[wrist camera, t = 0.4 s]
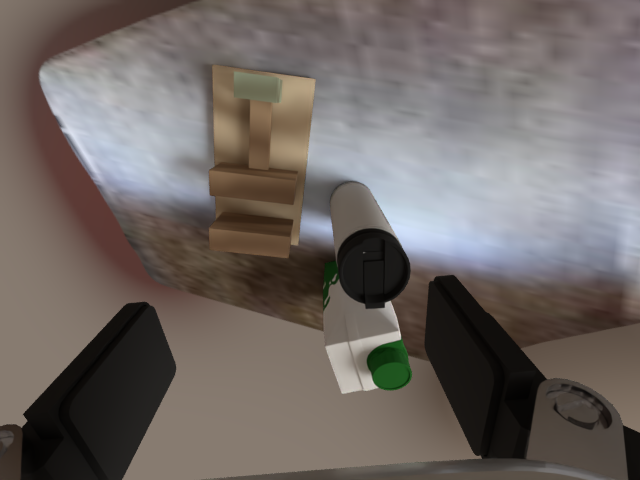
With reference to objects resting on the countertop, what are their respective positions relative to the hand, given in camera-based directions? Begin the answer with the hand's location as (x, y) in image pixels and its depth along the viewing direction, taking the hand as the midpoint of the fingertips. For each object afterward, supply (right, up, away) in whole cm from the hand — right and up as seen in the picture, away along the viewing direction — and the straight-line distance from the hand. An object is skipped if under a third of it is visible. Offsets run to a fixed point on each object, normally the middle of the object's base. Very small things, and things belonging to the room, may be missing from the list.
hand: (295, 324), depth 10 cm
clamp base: (-7, +13, +30) cm, 34 cm away
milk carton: (+6, -3, +38) cm, 39 cm away
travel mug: (+5, +8, +33) cm, 35 cm away
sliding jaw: (-7, +16, +28) cm, 32 cm away
